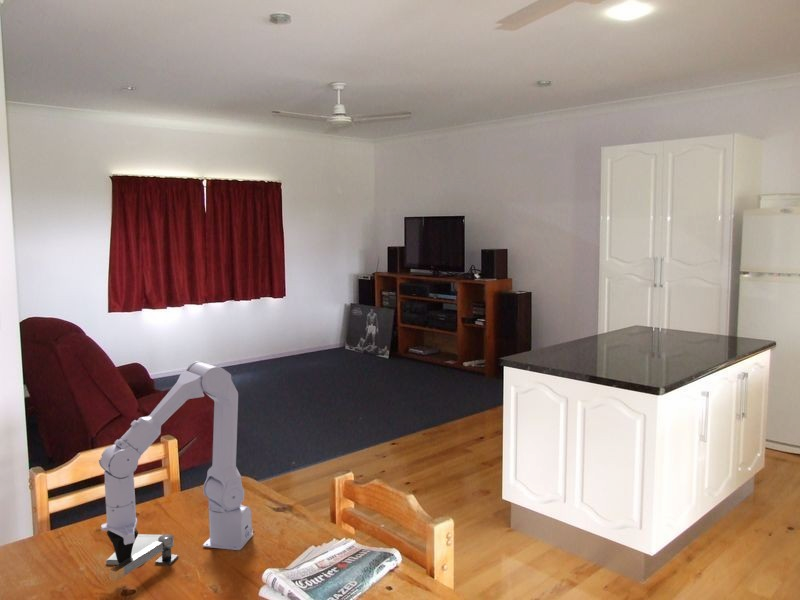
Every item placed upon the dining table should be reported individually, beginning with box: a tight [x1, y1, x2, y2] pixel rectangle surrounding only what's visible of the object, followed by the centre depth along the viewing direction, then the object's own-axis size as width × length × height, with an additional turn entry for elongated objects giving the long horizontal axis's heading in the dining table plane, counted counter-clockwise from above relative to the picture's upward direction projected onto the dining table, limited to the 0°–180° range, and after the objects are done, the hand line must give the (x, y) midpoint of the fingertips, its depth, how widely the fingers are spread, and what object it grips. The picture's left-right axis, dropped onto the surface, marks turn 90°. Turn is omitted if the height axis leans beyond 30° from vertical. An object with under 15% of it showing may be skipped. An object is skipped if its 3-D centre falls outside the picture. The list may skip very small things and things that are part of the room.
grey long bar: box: [108, 534, 175, 582], centre depth 140 cm, size 17×3×2 cm, turn 157°
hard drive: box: [105, 533, 163, 566], centre depth 151 cm, size 2×8×12 cm
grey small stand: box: [154, 548, 179, 566], centre depth 146 cm, size 4×4×3 cm
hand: (124, 562), depth 139 cm, fingers closed
